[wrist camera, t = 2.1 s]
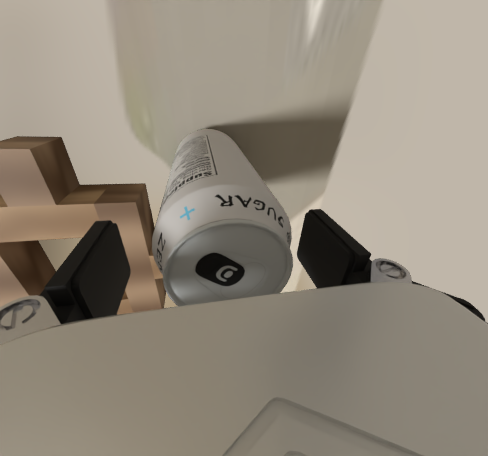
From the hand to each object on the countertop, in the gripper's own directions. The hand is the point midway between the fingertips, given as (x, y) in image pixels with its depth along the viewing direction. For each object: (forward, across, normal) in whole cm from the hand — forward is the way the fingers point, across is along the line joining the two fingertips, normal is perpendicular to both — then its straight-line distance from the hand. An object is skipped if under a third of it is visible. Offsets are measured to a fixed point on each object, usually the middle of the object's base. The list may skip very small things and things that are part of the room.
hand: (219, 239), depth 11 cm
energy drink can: (+12, 0, -1) cm, 12 cm away
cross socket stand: (+12, +13, +8) cm, 19 cm away
